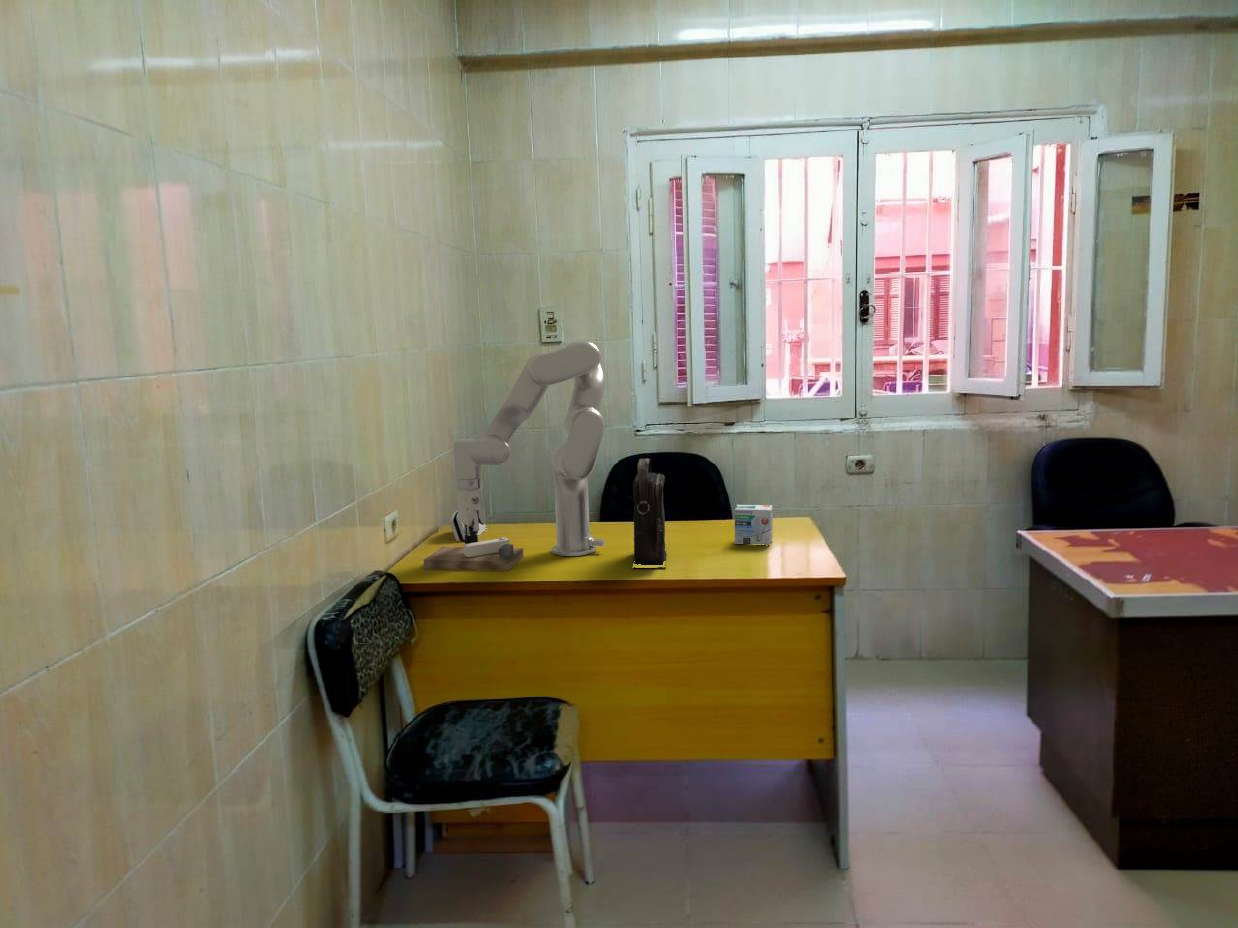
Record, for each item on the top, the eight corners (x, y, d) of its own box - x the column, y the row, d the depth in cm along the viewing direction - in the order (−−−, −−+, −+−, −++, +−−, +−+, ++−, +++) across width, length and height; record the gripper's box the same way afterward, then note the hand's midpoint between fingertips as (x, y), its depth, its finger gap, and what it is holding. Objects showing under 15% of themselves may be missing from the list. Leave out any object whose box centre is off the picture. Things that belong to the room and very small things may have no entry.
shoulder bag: (635, 548, 254) (632, 452, 249) (666, 547, 253) (664, 452, 249) (631, 569, 231) (628, 465, 227) (665, 569, 231) (663, 464, 226)
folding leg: (505, 548, 247) (504, 536, 247) (509, 550, 245) (509, 538, 244) (463, 555, 241) (463, 543, 240) (467, 557, 238) (467, 545, 238)
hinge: (472, 541, 267) (459, 511, 266) (458, 546, 268) (445, 516, 267) (487, 529, 283) (476, 500, 282) (474, 534, 284) (463, 505, 283)
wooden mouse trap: (523, 556, 248) (522, 537, 247) (508, 570, 234) (507, 550, 233) (442, 555, 252) (441, 536, 251) (424, 568, 238) (422, 549, 237)
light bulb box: (734, 545, 254) (733, 508, 252) (736, 539, 260) (736, 504, 259) (771, 546, 251) (771, 509, 250) (773, 540, 258) (773, 504, 256)
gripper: (491, 486, 236) (494, 552, 239) (472, 478, 249) (475, 541, 252) (464, 489, 233) (467, 556, 236) (447, 481, 246) (450, 544, 249)
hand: (471, 548), depth 244 cm, fingers closed
